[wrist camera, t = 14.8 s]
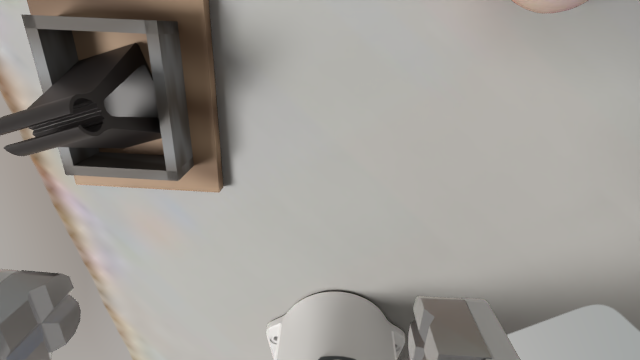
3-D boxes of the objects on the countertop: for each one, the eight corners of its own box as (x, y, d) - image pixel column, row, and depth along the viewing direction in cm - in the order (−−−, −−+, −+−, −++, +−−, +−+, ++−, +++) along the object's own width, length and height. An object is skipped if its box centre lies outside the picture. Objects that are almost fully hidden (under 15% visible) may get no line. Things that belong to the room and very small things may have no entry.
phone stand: (178, 133, 36) (107, 180, 25) (126, 147, 36) (35, 198, 26) (138, 42, 32) (36, 50, 21) (82, 59, 33) (-45, 75, 22)
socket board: (223, 186, 40) (206, 210, 35) (85, 178, 40) (48, 200, 35) (207, -14, 31) (183, -22, 26) (34, -21, 32) (-23, -30, 27)
